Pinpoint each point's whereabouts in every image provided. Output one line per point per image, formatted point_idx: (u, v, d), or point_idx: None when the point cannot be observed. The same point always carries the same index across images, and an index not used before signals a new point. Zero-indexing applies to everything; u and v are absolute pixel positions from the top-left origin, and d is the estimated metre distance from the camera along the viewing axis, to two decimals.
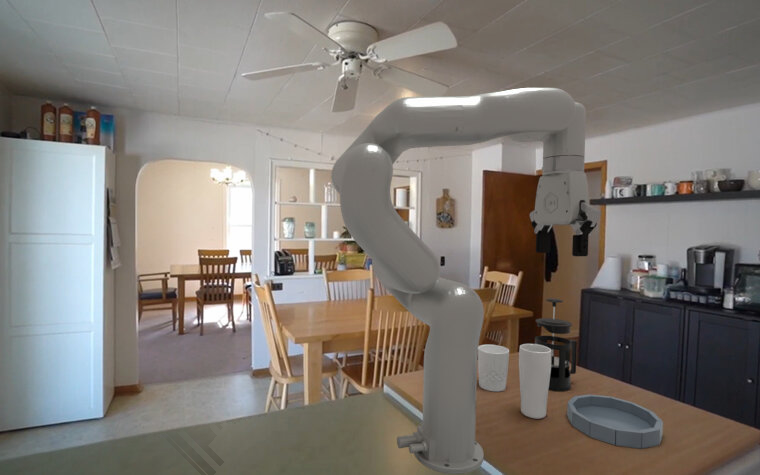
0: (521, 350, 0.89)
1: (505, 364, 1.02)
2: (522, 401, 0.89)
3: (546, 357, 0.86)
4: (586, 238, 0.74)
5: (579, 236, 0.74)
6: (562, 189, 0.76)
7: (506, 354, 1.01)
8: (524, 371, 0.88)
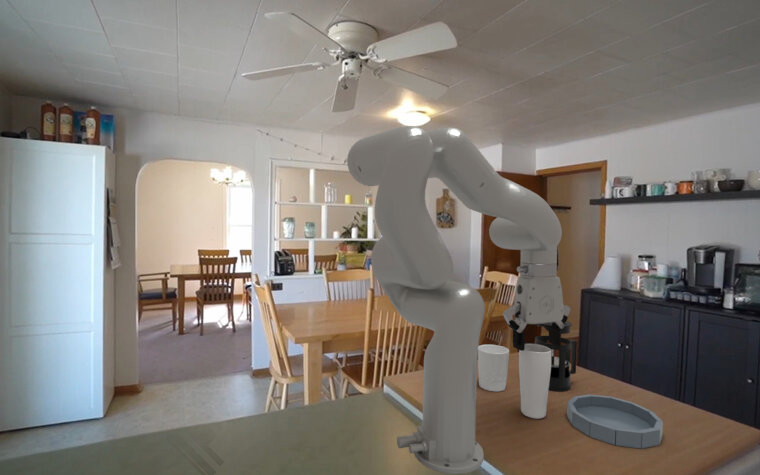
0: None
1: (505, 364, 1.02)
2: (522, 401, 0.89)
3: (546, 357, 0.86)
4: None
5: None
6: (557, 292, 0.87)
7: (506, 354, 1.01)
8: (524, 371, 0.88)
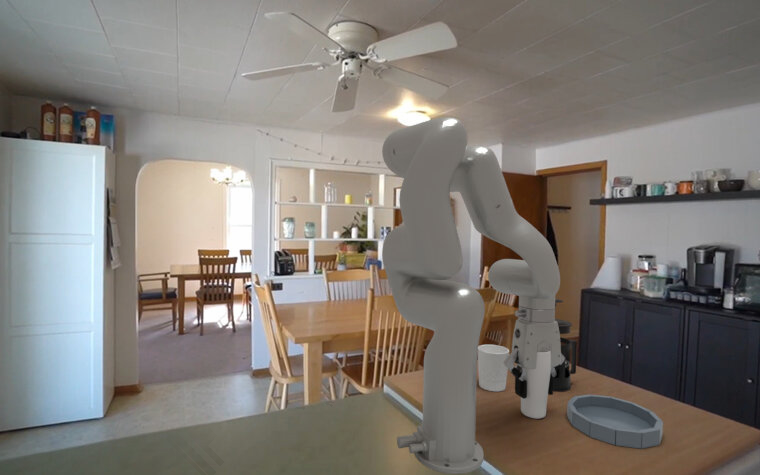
0: None
1: None
2: (522, 401, 0.89)
3: (546, 357, 0.86)
4: None
5: None
6: (554, 337, 0.87)
7: (506, 354, 1.01)
8: None
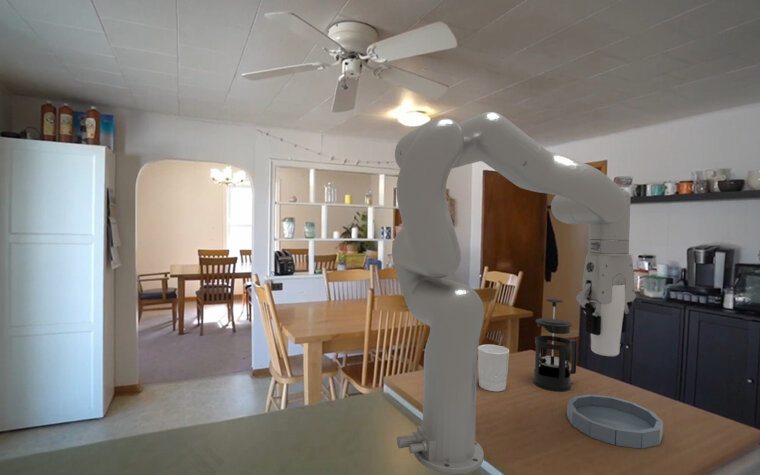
0: None
1: (505, 364, 1.02)
2: (594, 339, 0.85)
3: (621, 290, 0.82)
4: None
5: None
6: (629, 270, 0.83)
7: (506, 354, 1.01)
8: None
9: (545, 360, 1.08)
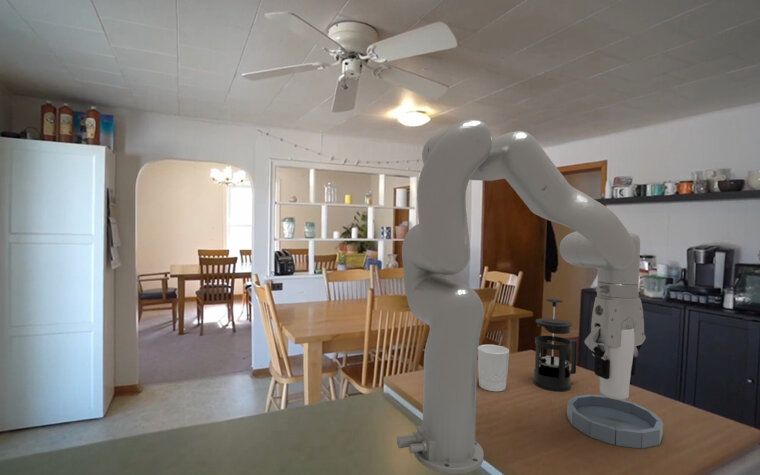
0: None
1: (505, 364, 1.02)
2: (602, 382, 0.84)
3: (631, 335, 0.81)
4: None
5: (633, 357, 0.85)
6: (638, 314, 0.83)
7: (506, 354, 1.01)
8: None
9: (545, 360, 1.08)
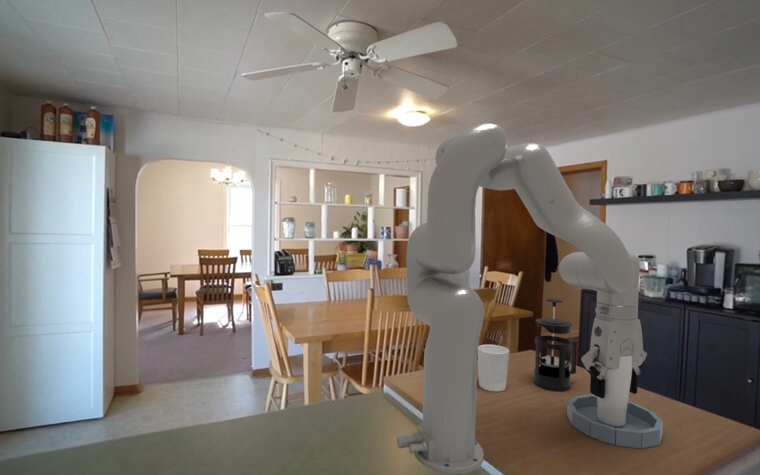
0: None
1: (505, 364, 1.02)
2: (600, 408, 0.84)
3: (628, 362, 0.81)
4: None
5: None
6: (637, 335, 0.83)
7: (506, 354, 1.01)
8: None
9: (545, 360, 1.08)
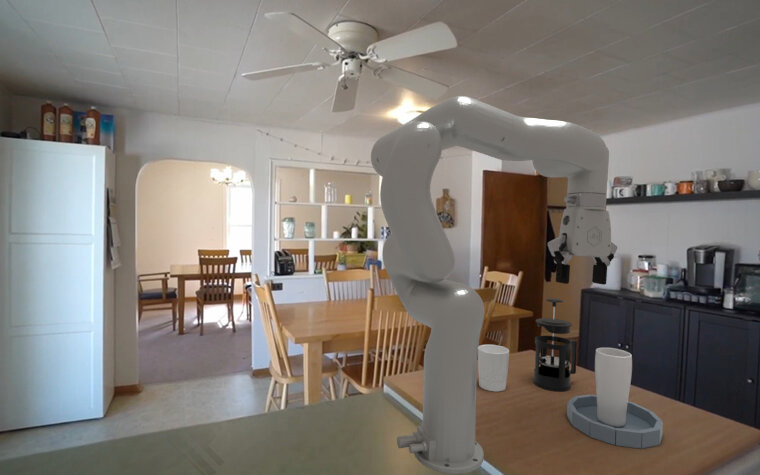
0: (599, 354, 0.84)
1: (505, 364, 1.02)
2: (600, 408, 0.84)
3: (628, 362, 0.81)
4: None
5: None
6: (605, 225, 0.83)
7: (506, 354, 1.01)
8: (603, 377, 0.83)
9: (545, 360, 1.08)
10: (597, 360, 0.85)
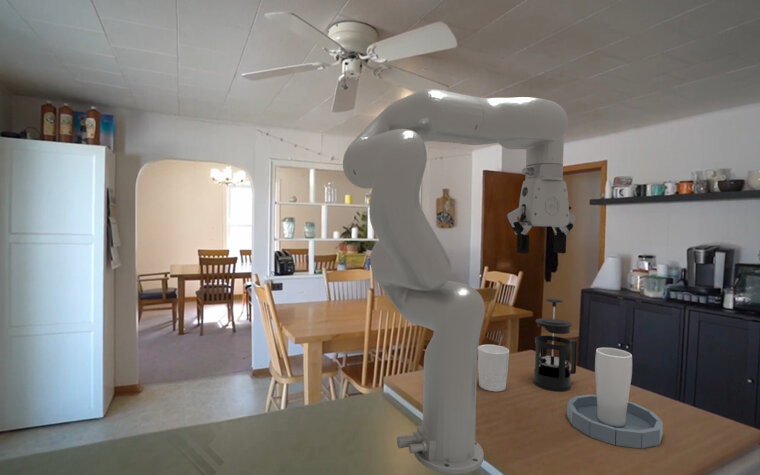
0: (599, 354, 0.84)
1: (505, 364, 1.02)
2: (600, 408, 0.84)
3: (628, 362, 0.81)
4: None
5: None
6: (563, 195, 0.85)
7: (506, 354, 1.01)
8: (603, 377, 0.83)
9: (545, 360, 1.08)
10: (597, 360, 0.85)
